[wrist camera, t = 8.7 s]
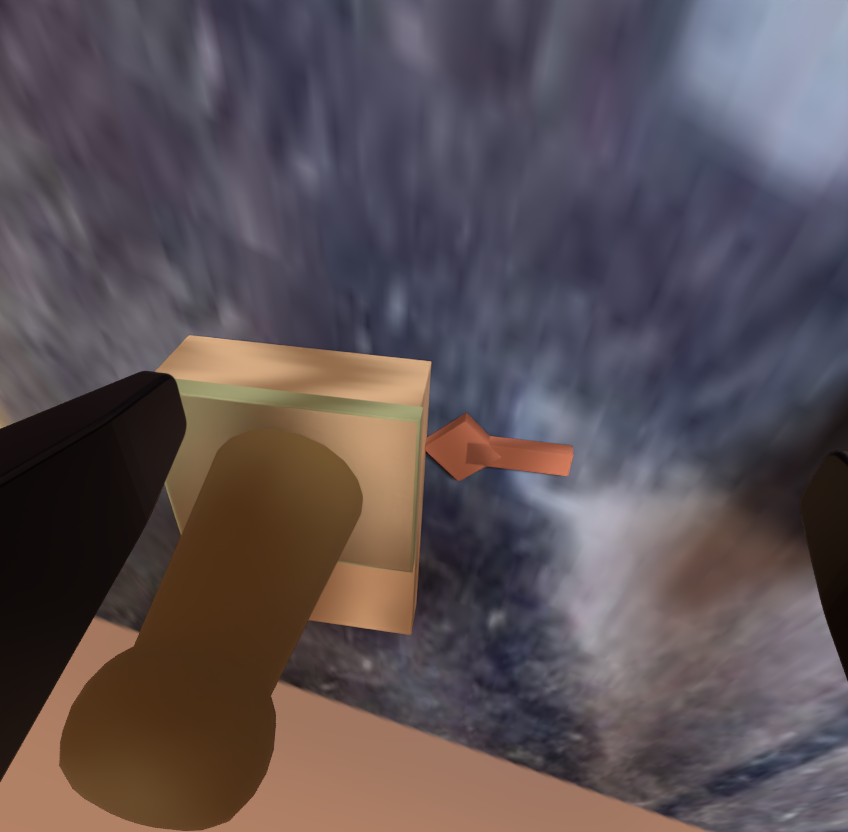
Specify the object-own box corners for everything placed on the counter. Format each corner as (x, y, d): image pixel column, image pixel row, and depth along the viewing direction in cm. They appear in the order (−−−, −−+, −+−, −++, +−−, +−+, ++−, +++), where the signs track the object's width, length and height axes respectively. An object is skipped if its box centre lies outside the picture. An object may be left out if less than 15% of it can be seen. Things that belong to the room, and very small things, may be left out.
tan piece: (590, 376, 22) (602, 441, 19) (526, 618, 32) (527, 688, 29) (186, 332, 23) (134, 387, 20) (243, 578, 33) (214, 641, 30)
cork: (316, 562, 25) (206, 874, 16) (188, 492, 23) (-11, 797, 15) (393, 487, 22) (307, 828, 13) (251, 400, 20) (41, 722, 11)
